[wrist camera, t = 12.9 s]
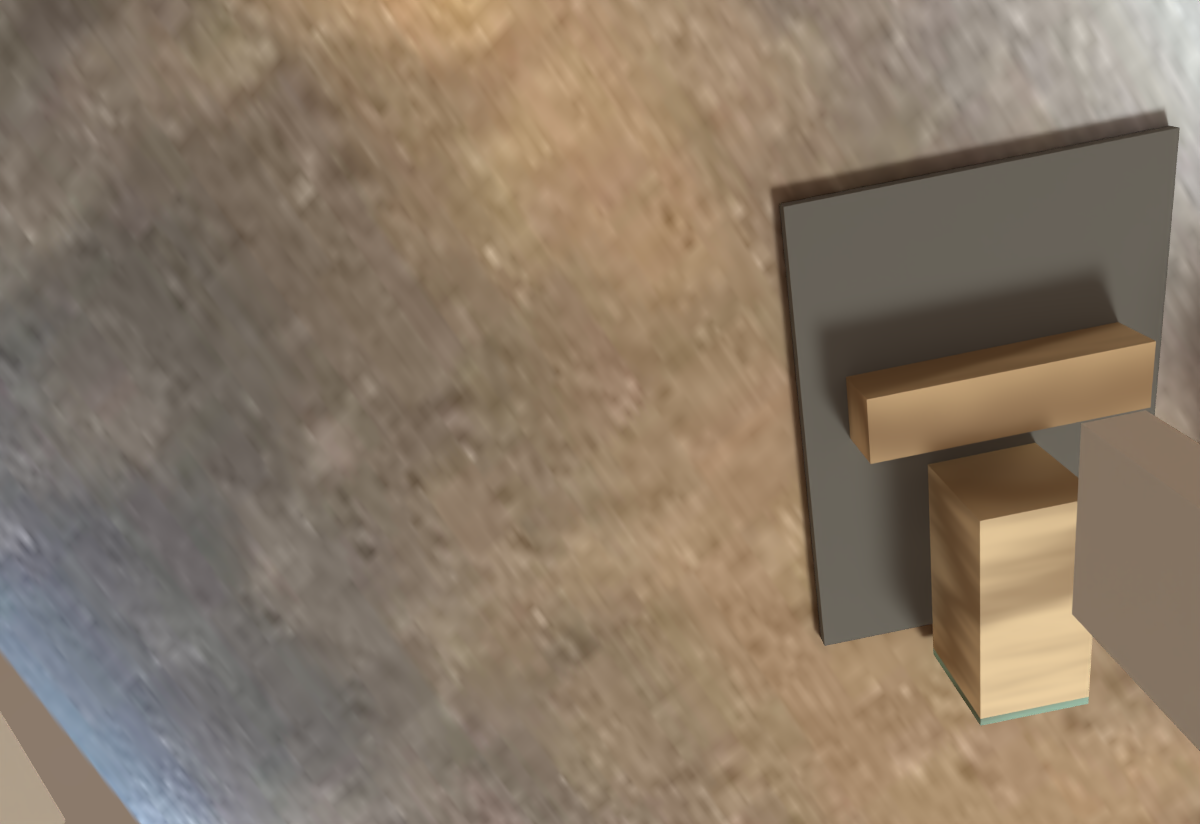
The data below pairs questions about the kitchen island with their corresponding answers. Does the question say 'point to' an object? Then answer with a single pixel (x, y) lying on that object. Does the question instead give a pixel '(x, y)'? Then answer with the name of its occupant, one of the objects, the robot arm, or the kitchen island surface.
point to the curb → (1000, 391)
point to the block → (1007, 583)
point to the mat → (954, 328)
